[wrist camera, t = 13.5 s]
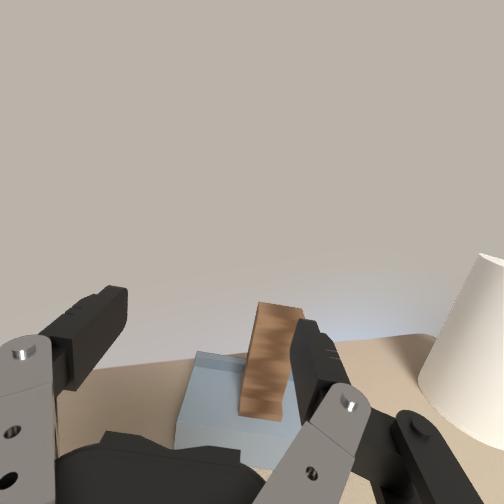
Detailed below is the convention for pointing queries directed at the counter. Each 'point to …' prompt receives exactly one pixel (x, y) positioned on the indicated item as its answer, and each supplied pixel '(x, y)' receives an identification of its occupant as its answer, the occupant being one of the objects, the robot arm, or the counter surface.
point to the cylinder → (471, 357)
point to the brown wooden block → (268, 362)
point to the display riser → (232, 414)
